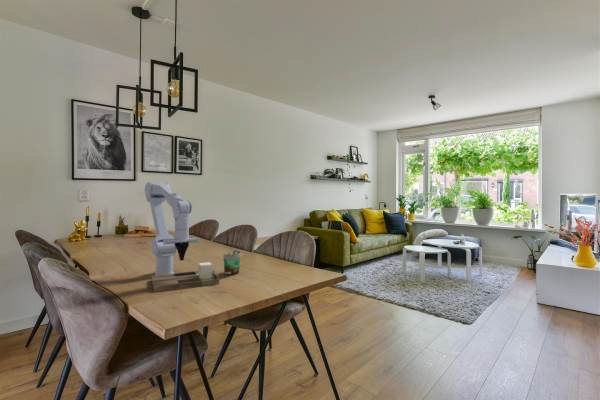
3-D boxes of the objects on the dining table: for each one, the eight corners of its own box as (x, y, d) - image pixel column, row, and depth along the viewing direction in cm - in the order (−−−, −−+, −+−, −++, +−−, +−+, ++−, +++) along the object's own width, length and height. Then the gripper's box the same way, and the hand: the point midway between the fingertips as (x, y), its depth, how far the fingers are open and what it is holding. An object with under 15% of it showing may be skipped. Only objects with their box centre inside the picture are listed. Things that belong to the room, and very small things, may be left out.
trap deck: (151, 280, 137) (151, 272, 137) (209, 273, 149) (209, 266, 149) (154, 292, 121) (154, 283, 121) (219, 283, 133) (219, 275, 133)
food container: (235, 277, 144) (235, 255, 144) (223, 276, 145) (223, 254, 145) (245, 270, 156) (245, 250, 156) (233, 269, 157) (234, 249, 157)
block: (198, 274, 140) (198, 263, 140) (209, 273, 142) (209, 262, 142) (200, 277, 136) (200, 265, 135) (212, 275, 138) (212, 264, 138)
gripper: (164, 230, 128) (164, 263, 129) (201, 229, 135) (200, 260, 136) (162, 228, 134) (162, 260, 135) (197, 227, 141) (197, 257, 142)
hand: (181, 260), depth 136 cm, fingers closed
